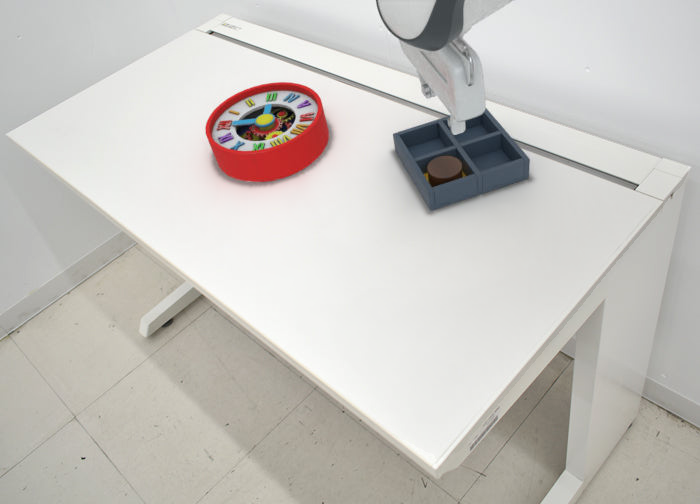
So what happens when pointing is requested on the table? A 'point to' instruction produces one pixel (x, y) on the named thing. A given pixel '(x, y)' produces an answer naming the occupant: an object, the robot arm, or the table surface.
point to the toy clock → (268, 131)
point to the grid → (462, 158)
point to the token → (444, 170)
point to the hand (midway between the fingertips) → (442, 112)
